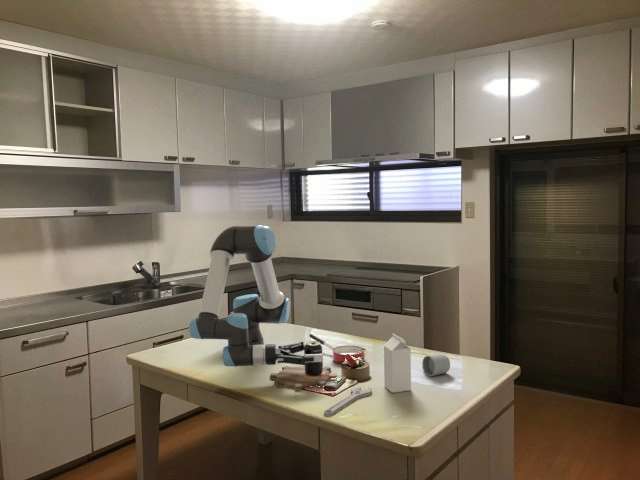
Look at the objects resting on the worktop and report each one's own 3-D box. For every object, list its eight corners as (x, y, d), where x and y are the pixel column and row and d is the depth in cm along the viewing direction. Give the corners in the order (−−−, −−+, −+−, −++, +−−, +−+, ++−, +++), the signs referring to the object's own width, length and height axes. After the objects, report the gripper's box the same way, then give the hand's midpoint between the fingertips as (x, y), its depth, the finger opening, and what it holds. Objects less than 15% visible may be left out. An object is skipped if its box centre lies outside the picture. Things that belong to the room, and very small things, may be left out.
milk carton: (392, 393, 181) (391, 339, 180) (384, 386, 188) (383, 334, 186) (411, 390, 183) (410, 337, 182) (402, 383, 190) (401, 332, 188)
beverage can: (324, 371, 200) (324, 340, 199) (320, 377, 194) (319, 346, 193) (307, 370, 202) (306, 340, 201) (302, 376, 196) (301, 345, 195)
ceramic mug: (451, 374, 198) (451, 354, 198) (434, 378, 194) (434, 358, 194) (433, 367, 207) (432, 348, 207) (416, 371, 204) (416, 351, 203)
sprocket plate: (277, 367, 213) (277, 363, 212) (339, 367, 210) (338, 363, 209) (263, 390, 188) (263, 385, 188) (333, 391, 185) (333, 386, 185)
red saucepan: (296, 352, 233) (295, 338, 232) (317, 345, 242) (316, 331, 241) (350, 367, 210) (349, 351, 210) (370, 359, 219) (370, 344, 219)
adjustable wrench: (329, 418, 164) (329, 413, 164) (314, 413, 168) (313, 408, 168) (375, 393, 183) (374, 388, 183) (360, 389, 187) (359, 384, 187)
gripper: (266, 354, 209) (320, 352, 210) (263, 375, 184) (324, 373, 185) (266, 336, 208) (319, 333, 210) (263, 355, 184) (323, 352, 185)
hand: (321, 352), depth 198 cm, fingers open, 13 cm apart
